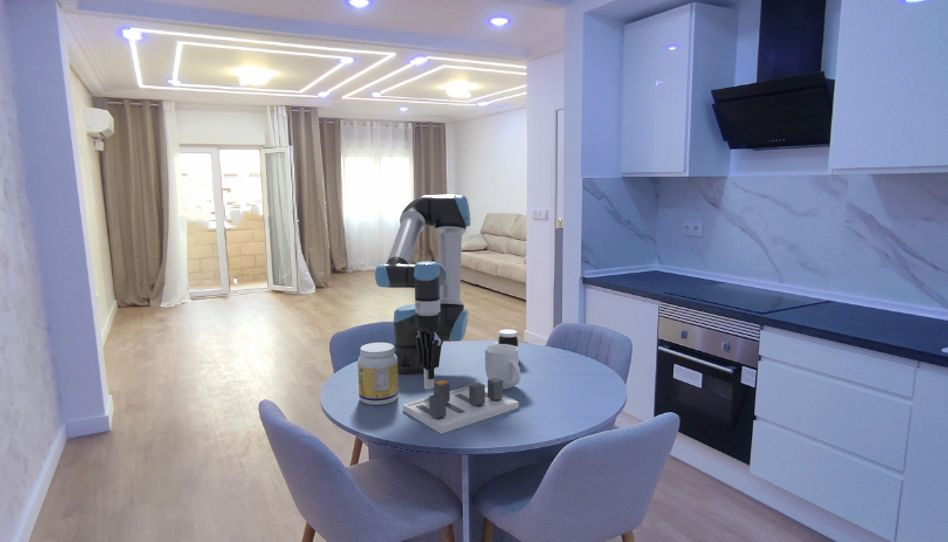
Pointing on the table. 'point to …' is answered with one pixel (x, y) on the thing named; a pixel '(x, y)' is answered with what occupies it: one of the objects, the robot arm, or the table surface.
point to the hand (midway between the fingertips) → (429, 388)
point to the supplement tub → (378, 374)
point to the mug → (503, 364)
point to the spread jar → (508, 337)
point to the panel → (459, 410)
